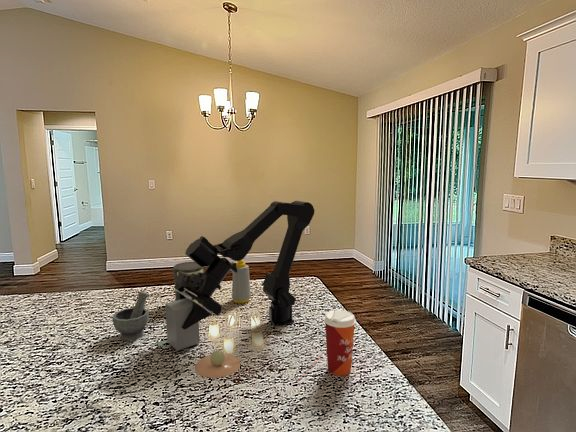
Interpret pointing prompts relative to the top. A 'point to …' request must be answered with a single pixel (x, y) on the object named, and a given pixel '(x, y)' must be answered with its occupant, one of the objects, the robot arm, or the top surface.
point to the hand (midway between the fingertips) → (177, 324)
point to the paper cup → (339, 341)
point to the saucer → (219, 370)
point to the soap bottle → (241, 283)
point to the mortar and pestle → (132, 319)
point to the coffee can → (186, 268)
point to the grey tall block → (180, 324)
